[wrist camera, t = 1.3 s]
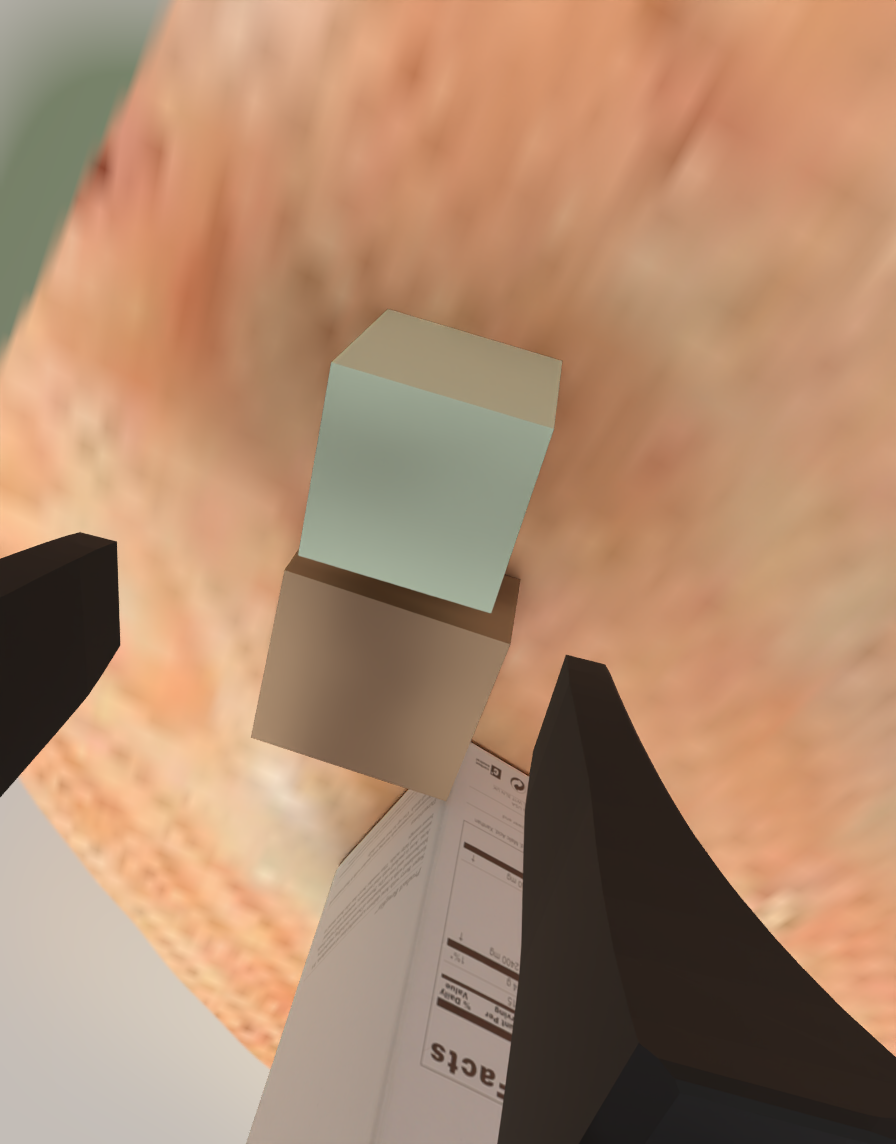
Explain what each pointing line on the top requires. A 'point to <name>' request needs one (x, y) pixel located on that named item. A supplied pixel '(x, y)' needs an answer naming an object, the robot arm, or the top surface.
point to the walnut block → (379, 674)
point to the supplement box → (410, 977)
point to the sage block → (428, 457)
